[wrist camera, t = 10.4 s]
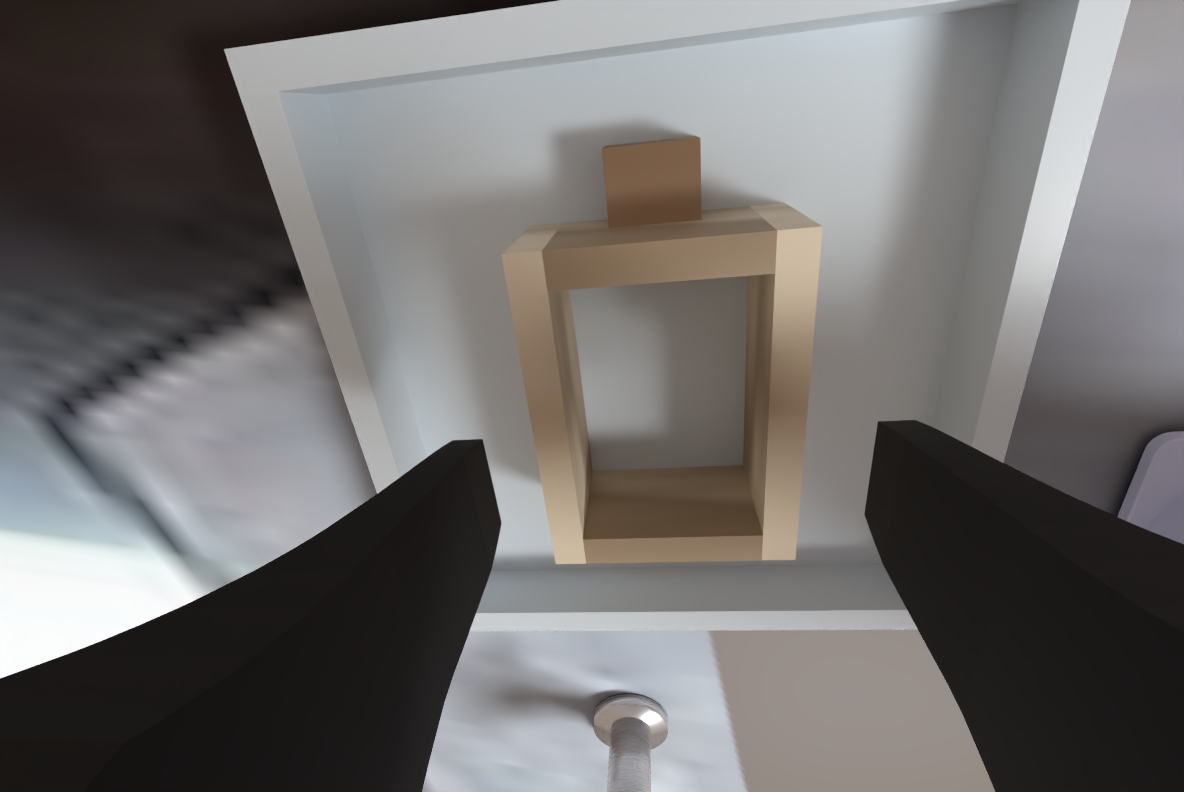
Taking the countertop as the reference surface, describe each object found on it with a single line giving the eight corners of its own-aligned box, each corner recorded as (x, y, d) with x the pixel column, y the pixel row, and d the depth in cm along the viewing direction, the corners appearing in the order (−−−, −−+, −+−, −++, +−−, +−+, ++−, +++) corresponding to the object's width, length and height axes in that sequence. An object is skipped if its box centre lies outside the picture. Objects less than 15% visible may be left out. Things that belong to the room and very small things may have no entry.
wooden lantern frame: (770, 486, 16) (795, 560, 14) (569, 493, 17) (555, 564, 14) (789, 125, 12) (830, 128, 9) (518, 155, 13) (486, 166, 10)
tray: (1053, -47, 11) (1154, -87, 9) (919, 568, 18) (957, 629, 16) (294, 60, 13) (223, 49, 11) (448, 575, 20) (424, 631, 18)
